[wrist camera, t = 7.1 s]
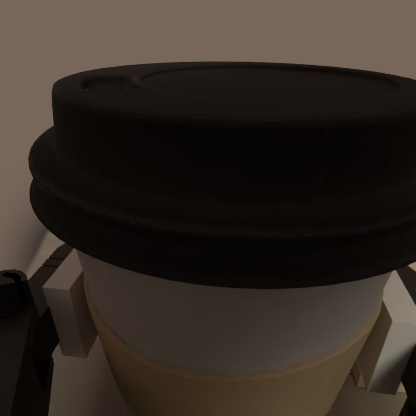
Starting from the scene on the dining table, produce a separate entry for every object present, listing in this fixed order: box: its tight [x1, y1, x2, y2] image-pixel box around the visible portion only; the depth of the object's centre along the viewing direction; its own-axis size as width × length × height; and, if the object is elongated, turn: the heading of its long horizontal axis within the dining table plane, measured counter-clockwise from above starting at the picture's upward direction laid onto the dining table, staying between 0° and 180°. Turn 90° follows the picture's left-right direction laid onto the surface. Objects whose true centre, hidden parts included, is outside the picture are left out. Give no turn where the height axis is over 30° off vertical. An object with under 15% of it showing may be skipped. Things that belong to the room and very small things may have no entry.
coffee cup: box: [28, 62, 416, 416], centre depth 11 cm, size 9×9×15 cm
